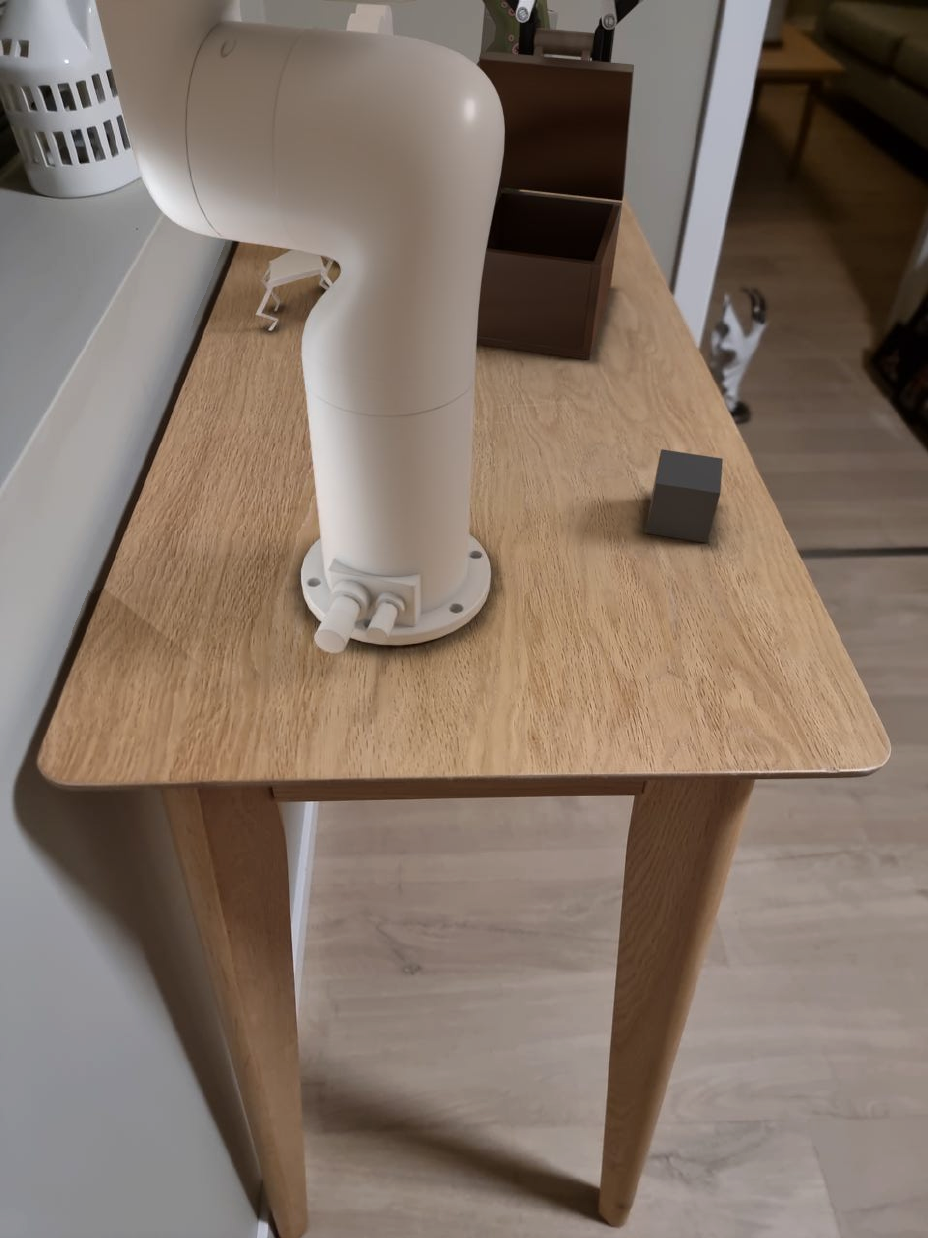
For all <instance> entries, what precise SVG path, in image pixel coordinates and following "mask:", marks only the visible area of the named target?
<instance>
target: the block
mask: <svg viewBox="0 0 928 1238" xmlns="http://www.w3.org/2000/svg"><path fill="white" fill-rule="evenodd" d="M723 461H724V459H723V458H721V457H715V456H708V455H702V454H695V453H688V452H682V451H676V450H669V449H664V448H663V449H660V453H659V457H658V463H657V466H656V467H657V468H656V472H655V477H654V483H653V486H652V492H651V496H650V498H651V499H650V503H649V509H648V514H647V522H646V528H645V533H646V534H650V535H656V536H662V537H667V538H673V539H680V540H686V541H691V542H697V543H698V542H699V543H703V544H708V542H709V539H710V538H709V537H710V534H711V532H712V531H711V530H712V526H713V524H714V521H715V520H714V519H715V516H716V512H717V508H718V505H719V501H720V497H721V490H722V489H721V488H722V476H723V463H724V462H723Z"/></svg>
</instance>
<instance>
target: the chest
mask: <svg viewBox="0 0 928 1238" xmlns="http://www.w3.org/2000/svg"><path fill="white" fill-rule="evenodd" d="M622 208H623V202H621V201H613V200H604V199H595V198H586V197H577V196H569V195H560V194H551V193H542V192H533V191H524V190H520V191H514V190H505V189H504V190H503V189H498V190H497V195H496V200H495V205H494V211H493V216H492V221H491V226H490V231H489V236H488V242H487V247H486V252H485V259H484V266H483V273H482V280H481V289H480V299H479V309H478V325H477V342H476V345H479V346H480V345H481V346H487V347H494V348H503V349H509V350H517V351H524V352H531V353H538V354H545V355H551V356H559V357H566V358H572V359H580V360H587V361H589V360H590V359H591V356H592V353H593V349H594V347H595V342H596V339H597V336H598V332H599V330H600V325H601V323H602V319H603V315H604V311H605V309H606V305H607V301H608V298H609V295H610V291H611V287H612V279H613V272H614V266H615V259H616V250H617V245H618V236H619V230H620V224H621V223H620V222H621V216H622V210H623V209H622Z"/></svg>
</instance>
